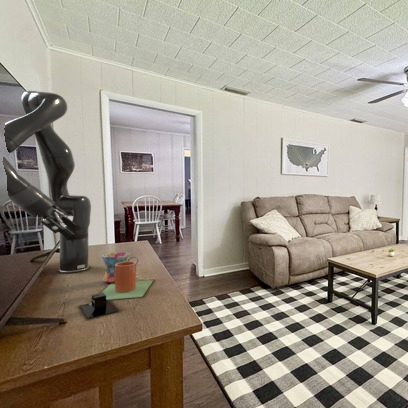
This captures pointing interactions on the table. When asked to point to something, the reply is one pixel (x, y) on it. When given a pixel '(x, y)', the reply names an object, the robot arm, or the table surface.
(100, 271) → the table surface
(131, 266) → the pot
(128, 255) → the mug
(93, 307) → the black stand
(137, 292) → the placemat
